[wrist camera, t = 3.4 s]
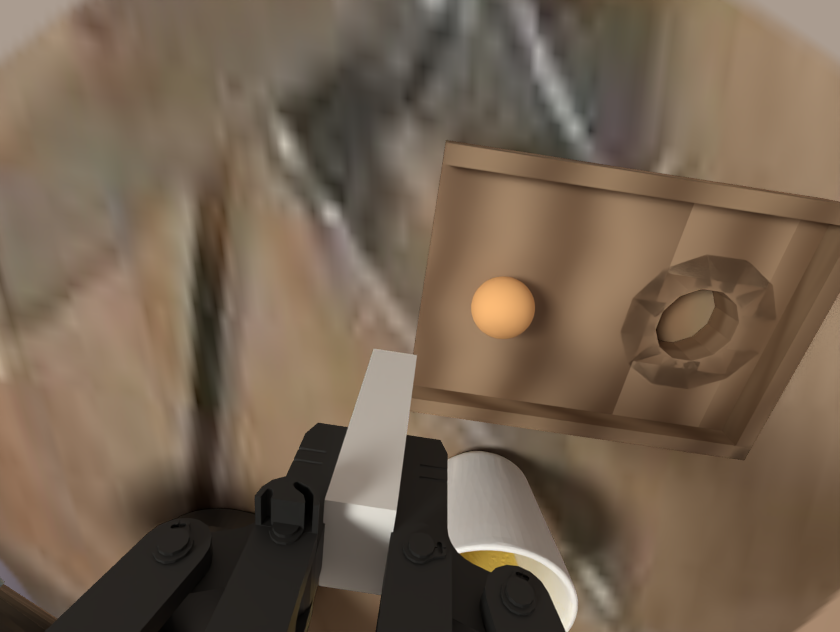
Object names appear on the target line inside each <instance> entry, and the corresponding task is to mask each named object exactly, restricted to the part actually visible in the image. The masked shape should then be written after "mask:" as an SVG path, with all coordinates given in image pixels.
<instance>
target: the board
mask: <svg viewBox="0 0 840 632" xmlns="http://www.w3.org/2000/svg"><path fill="white" fill-rule="evenodd" d="M501 276H506V277H512V278H515V279H517V280H519V281H521V282H522V283H524V284H525V285H526V286H527V287H528V289H529V290H530V292H531V293H532V295H533V298H534V302H535V313H534V317H533V320H532V322H531V324H530V325H529V327H528V328H527V329H526V330H525V331H524V332H523V333H521V334H520V335H518V336H516V337H513V338H509V339H497V338H493V337H490V336H488V335H486V334H485V333H483V332H482V331H481V330H480V329H479V328H478V327H477V325H476V324H475V322H474V320H473V317H472V312H471V303H472V299H473V296H474V294H475V292H476V290H477V289H478V288H479V287H480V286H481V285H482V284H483V283H484V282H486V281H487V280H489V279H492V278H495V277H501ZM701 289H705V290H712V291H713V296H714V302H715V308H714V310H713V313H712V315H711V317H710V319H709V322H708V324H707V325H705V326H704V327H703V328H702V329H701V330H700V331H698V332H697V333H696V334H695V335H694V336H692V337H690V338H686V339H683V340H680V341H677V342H673V343H672V342H665V341H659V340H658V339H657V334H656V327H657V325H658V322H659V320H660V317H661V315H662V312H663V311H664V310H665V309H666V308H667V307H668V306H669V305H671V304H672V303H673V302H674V301H675V300H676V299H677V298H679V297H680V296H682V295H685V294H688V293H691V292H695V291H698V290H701ZM839 293H840V202H838V201H833V200H828V199H823V198H817V197H810V196H804V195H797V194H791V193H784V192H778V191H771V190H765V189H758V188H752V187H746V186H739V185H733V184H726V183H720V182H713V181H707V180H700V179H694V178H687V177H681V176H674V175H668V174H662V173H655V172H649V171H642V170H636V169H629V168H623V167H616V166H610V165H603V164H597V163H591V162H584V161H578V160H571V159H565V158H558V157H552V156H545V155H539V154H532V153H526V152H519V151H513V150H507V149H500V148H494V147H487V146H481V145H474V144H468V143H461V142H455V141H448V140H446V144H445V150H444V157H443V163H442V170H441V176H440V183H439V189H438V196H437V202H436V209H435V215H434V222H433V228H432V235H431V241H430V248H429V254H428V261H427V267H426V274H425V280H424V287H423V293H422V300H421V306H420V313H419V319H418V326H417V332H416V338H415V345H414V351H413V355H417V359H416V367H415V374H414V382H413V389H412V397H411V405H410V411H411V412H418V413H425V414H432V415H438V416H445V417H452V418H459V419H466V420H473V421H479V422H486V423H493V424H500V425H507V426H513V427H520V428H527V429H534V430H541V431H547V432H554V433H561V434H568V435H575V436H582V437H588V438H595V439H602V440H609V441H616V442H622V443H629V444H636V445H643V446H650V447H656V448H663V449H670V450H677V451H684V452H690V453H697V454H704V455H711V456H718V457H725V458H731V459H738V460H745V458H746V456H747V455H748V453H749V451H750V449H751V448H752V446H753V444H754V442H755V441H756V439H757V437H758V435H759V433H760V432H761V430H762V428H763V426H764V425H765V423H766V421H767V419H768V418H769V416H770V414H771V412H772V411H773V409H774V407H775V405H776V404H777V402H778V400H779V398H780V396H781V395H782V393H783V391H784V389H785V388H786V386H787V384H788V382H789V381H790V379H791V377H792V375H793V374H794V372H795V370H796V368H797V367H798V365H799V363H800V361H801V359H802V358H803V356H804V354H805V352H806V351H807V349H808V347H809V345H810V344H811V342H812V340H813V338H814V337H815V335H816V333H817V331H818V330H819V328H820V326H821V324H822V322H823V321H824V319H825V317H826V315H827V314H828V312H829V310H830V308H831V307H832V305H833V303H834V301H835V300H836V298H837V296H838V294H839Z"/></svg>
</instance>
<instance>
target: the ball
mask: <svg viewBox="0 0 840 632" xmlns="http://www.w3.org/2000/svg"><path fill="white" fill-rule="evenodd" d="M471 312H472V317H473V320H474V322H475V324H476V325H477V327H478V328H479V329H480V330H481V331H482V332H483V333H485V334H486V335H488V336H490V337H493V338H497V339H509V338H513V337H516V336H518V335H520V334H521V333H523V332H524V331H525V330H526V329H527V328H528V327H529V325H530V324H531V322H532V320H533V317H534V313H535V302H534V298H533V295H532V293H531V292H530V290H529V289H528V287H527V286H526V285H525V284H524V283H522V282H521V281H519V280H517V279H515V278H512V277H506V276H501V277H495V278H492V279H489V280H487V281H486V282H484V283H483V284H482V285H481V286H480V287H479V288H478V289H477V290H476V292H475V294H474V296H473V299H472V303H471Z"/></svg>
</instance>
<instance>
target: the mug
mask: <svg viewBox="0 0 840 632" xmlns="http://www.w3.org/2000/svg"><path fill="white" fill-rule="evenodd" d="M447 471H448V481H447V483H448V535H449V538H450V541H451V543H452V545H453V546H454V548H455V549H456V550H457V552H458V553H459V554H460V555H461V556H463V557H464V558H465V559H466V560H468V561H470V562H471V563H473V564H475V565H477V566H479V567H481V568H483V569H485V570H487V571H489V572H492V571H493V570H494V569H495V568H497V567H500V566H504V565H514V566H519V567H522V568H524V569H526V570H528V571H530V572H531V573H533V574H534V575H535V576H536V577H537V578H538V579H539V580H541V582H542V583H543V585H544V586H545V588H546V589H547V591H548V593H549V595H550V597H551V599H552V601H553V604H554V606H555V608H556V610H557V613H558V615H559V617H560V620H561V622H562V624H563V626H564V629H565V631H566V632H568V631H569V630H570V628H571V627H572V625H573V623H574V621H575V618H576V615H577V611H578V597H577V593H576V589H575V587H574V584H573V582H572V580H571V577H570V575H569V573H568V570H567V568H566V566H565V564H564V561H563V559H562V557H561V554H560V552H559V550H558V548H557V545H556V543H555V541H554V539H553V537H552V535H551V532H550V530H549V528H548V526H547V524H546V521H545V519H544V517H543V515H542V513H541V511H540V508H539V506H538V504H537V502H536V499H535V497H534V495H533V493H532V490H531V488H530V486H529V483H528V481H527V479H526V477H525V475H524V474H523V473H522V471H521V470H520V469H519V468H518V467H517V466H516V465H515V464H514V463H512V462H511V461H510V460H508V459H506V458H504V457H502V456H500V455H497V454H493V453H489V452H485V451H469V452H465V453H462V454H459V455H456V456H454V457H452V458H450V459H448V469H447Z"/></svg>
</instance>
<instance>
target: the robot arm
mask: <svg viewBox="0 0 840 632" xmlns="http://www.w3.org/2000/svg"><path fill="white" fill-rule="evenodd" d="M416 359H417V355H412V354H406V353H399V352H393V351H386V350H380V349H373V352H372V356H371V359H370V362H369V365H368V368H367V371H366V374H365V377H364V380H363V383H362V386H361V389H360V393H359V396H358V399H357V402H356V405H355V408H354V411H353V414H352V417H351V420H350V423H349V426H348V427H343V426H336V425H330V424H323V423H317V424H316V425H315V426H314V427H313V428H311V429H310V430H309V431H308V432H307V433H306V434H305V436H304V438H303V440H302V442H301V445H300V447H299V450H298V451H297V453H296V456H295V458H294V461H293V462H292V464H291V467H290V469H289V471H288V473H287V475H286V477H281V478H278V479H274V480H272V481H270V482H269V483H267V484H265V485H264V486H262V487H261V489H260V490H259V491H258V492H257V494H256V495H255V514H251V513H248V512H243V511H238V510H231V509H206V510H199V511H195V512H191V513H188V514H185V515H183V516H181V517H179V518H177V519H173V520H171V521H168V522H166V523H163V524H161V525H159V526H157V527H156V528H155V529H153V530H152V531H150V532H149V533H148V534H146V535H145V536H144V537H143V538H142V539H141V540H140V541H139V542H138V543H137V544H136V545H135V546H134V547H133V548H132V549H131V550H130V551H129V552H128V553H126V554H125V555H124V556H123V557H122V558H121V559H120V560H119V561H118V562H117V563H116V564H115V565H114V566H113V567H112V568H111V569H110V570H109V571H108V572H107V573H105V574H104V575H103V576H102V577H101V578H100V579H99V580H98V581H97V582H96V583H95V584H94V585H93V586H92V587H91V588H90V589H89V590H88V591H87V592H86V593H84V594H83V595H82V596H81V597H80V598H79V599H78V600H77V601H76V602H75V603H74V604H73V605H72V606H71V607H70V608H69V609H68V610H67V611H66V612H65V613H63V614H62V615H61V616H60V617H59V618H58V619H57V618H55V617H54V616H52V615H51V614H49V613H48V612H46V611H45V610H43V609H42V608H40V607H38V606H37V605H35V604H34V603H32V602H31V601H29V600H28V599H26V598H25V597H23V596H21V595H20V594H18V593H17V592H15V591H14V590H12V589H10V588H9V587H7V586H6V585H4V582H5V581H3V580H2V579H1V578H0V632H307V631H308V627H309V623H310V620H311V616H312V612H313V602H314V598H315V594H316V591H317V587H318V580H319V586H324V587H330V588H337V589H344V590H350V591H357V592H364V593H370V594H377V595H381V600H380V607H379V613H378V619H377V626H376V632H566V631H565V629H564V626H563V624H562V622H561V620H560V617H559V615H558V613H557V610H556V608H555V606H554V604H553V601H552V599H551V597H550V595H549V593H548V591H547V589H546V588H545V586H544V585H543V583H542V582H541V580H539V579H538V578H537V577H536V576H535V575H534V574H533V573H531V572H530V571H528V570H526V569H524V568H522V567H519V566H514V565H504V566H500V567H497V568H495V569H494V570H493V571H492V572H489V571H487V570H485V569H483V568H481V567H479V566H477V565H475V564H473V563H471V562H470V561H468V560H466V559H465V558H464V557H463V556H461V555H460V554H459V553H458V552H457V550H456V549H455V548H454V546H453V545H452V543H451V541H450V538H449V535H448V483H447V481H448V471H447V469H448V454H447V452H446V450H445V448H444V446H443V444H442V442H441V440H436V439H430V438H423V437H416V436H410V435H407V428H408V420H409V412H410V405H411V397H412V389H413V382H414V374H415V367H416Z"/></svg>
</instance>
